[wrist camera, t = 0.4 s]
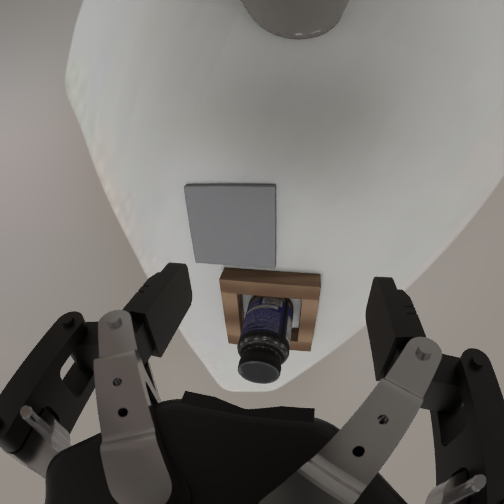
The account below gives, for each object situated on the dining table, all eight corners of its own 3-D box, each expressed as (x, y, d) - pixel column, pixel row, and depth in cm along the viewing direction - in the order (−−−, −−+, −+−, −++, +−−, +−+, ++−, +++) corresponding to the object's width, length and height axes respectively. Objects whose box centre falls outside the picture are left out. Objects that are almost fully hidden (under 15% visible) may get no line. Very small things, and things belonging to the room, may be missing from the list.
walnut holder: (224, 267, 35) (219, 279, 33) (320, 274, 33) (320, 287, 31) (232, 331, 41) (228, 343, 39) (310, 338, 39) (310, 351, 37)
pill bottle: (240, 305, 38) (220, 369, 29) (268, 281, 35) (253, 349, 26) (274, 328, 39) (262, 392, 30) (303, 307, 36) (298, 375, 27)
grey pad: (186, 184, 30) (183, 186, 29) (275, 184, 28) (274, 187, 28) (197, 259, 35) (195, 262, 35) (275, 264, 33) (275, 268, 33)
